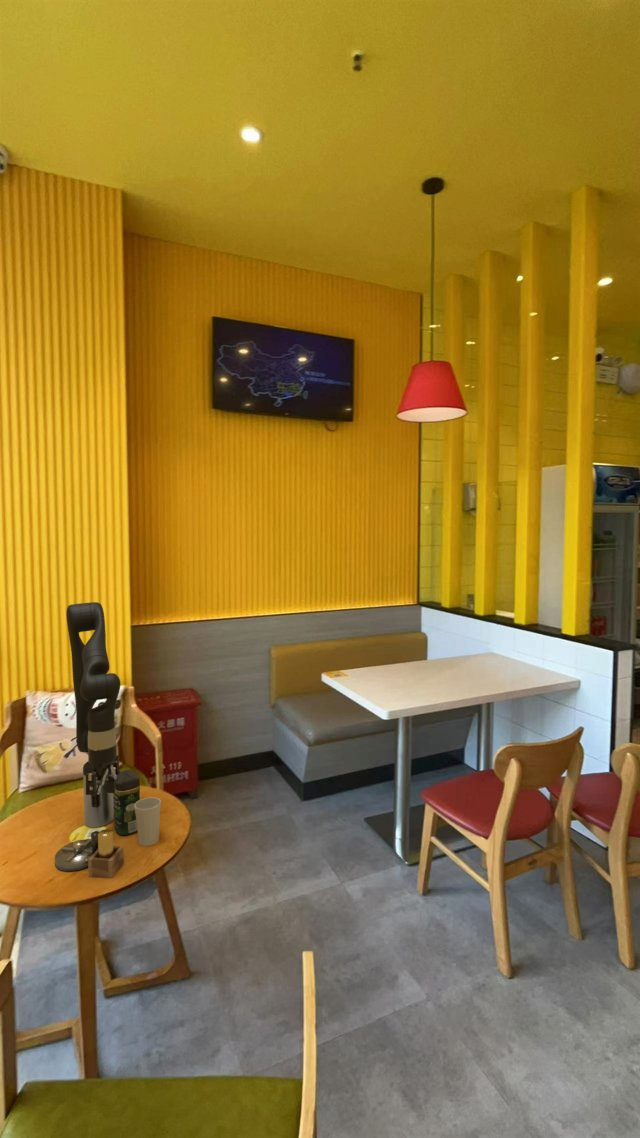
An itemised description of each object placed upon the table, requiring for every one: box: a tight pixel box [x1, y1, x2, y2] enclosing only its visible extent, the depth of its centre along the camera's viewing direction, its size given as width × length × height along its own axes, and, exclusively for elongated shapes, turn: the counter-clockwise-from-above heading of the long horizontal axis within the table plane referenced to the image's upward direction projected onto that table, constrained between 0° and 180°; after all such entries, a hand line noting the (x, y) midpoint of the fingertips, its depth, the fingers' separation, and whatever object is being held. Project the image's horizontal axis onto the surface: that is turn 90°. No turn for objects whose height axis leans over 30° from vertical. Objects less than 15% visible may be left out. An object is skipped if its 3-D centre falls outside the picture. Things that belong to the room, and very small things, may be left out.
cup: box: [134, 796, 162, 847], centre depth 168 cm, size 8×8×12 cm
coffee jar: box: [113, 769, 141, 836], centre depth 175 cm, size 10×8×19 cm
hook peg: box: [98, 828, 114, 859], centre depth 153 cm, size 4×4×11 cm
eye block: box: [87, 845, 125, 879], centre depth 153 cm, size 7×7×5 cm
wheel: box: [54, 830, 100, 872], centre depth 159 cm, size 13×13×8 cm
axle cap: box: [73, 839, 85, 852], centre depth 159 cm, size 3×3×2 cm
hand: (103, 799), depth 152 cm, fingers open, 8 cm apart
